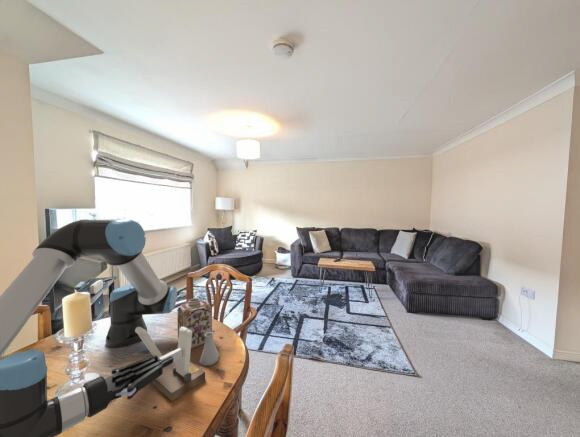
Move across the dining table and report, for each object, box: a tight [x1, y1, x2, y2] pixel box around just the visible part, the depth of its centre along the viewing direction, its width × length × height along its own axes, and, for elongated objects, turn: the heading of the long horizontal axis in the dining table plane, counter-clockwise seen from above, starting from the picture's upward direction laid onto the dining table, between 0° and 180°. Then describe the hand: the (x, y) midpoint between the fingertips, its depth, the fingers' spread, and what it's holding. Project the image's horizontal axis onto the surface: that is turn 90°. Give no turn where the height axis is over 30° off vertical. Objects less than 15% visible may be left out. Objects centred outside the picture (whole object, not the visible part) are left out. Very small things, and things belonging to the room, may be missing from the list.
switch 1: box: [135, 327, 162, 358], centre depth 79 cm, size 2×6×14 cm, turn 55°
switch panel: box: [150, 347, 206, 402], centre depth 78 cm, size 11×24×4 cm, turn 54°
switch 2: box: [176, 327, 192, 377], centre depth 74 cm, size 2×6×14 cm, turn 54°
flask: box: [198, 331, 221, 367], centre depth 85 cm, size 7×7×10 cm
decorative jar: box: [177, 297, 213, 349], centre depth 99 cm, size 12×12×18 cm
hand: (181, 352), depth 73 cm, fingers closed
